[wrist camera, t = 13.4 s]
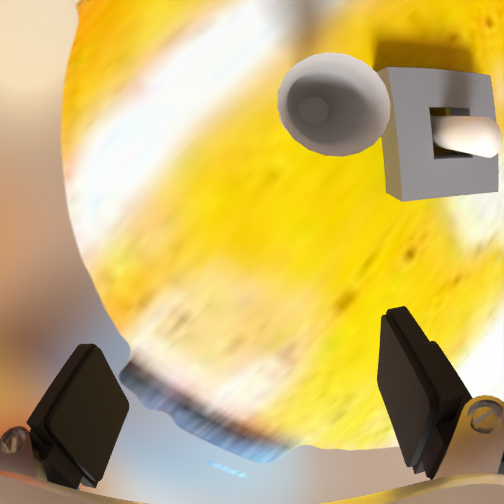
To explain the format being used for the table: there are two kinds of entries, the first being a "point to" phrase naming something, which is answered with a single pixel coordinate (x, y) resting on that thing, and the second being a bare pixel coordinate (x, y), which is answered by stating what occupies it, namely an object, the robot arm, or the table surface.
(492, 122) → the peg
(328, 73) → the chalice
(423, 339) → the robot arm
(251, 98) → the table surface
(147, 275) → the table surface
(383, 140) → the socket block
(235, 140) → the table surface
